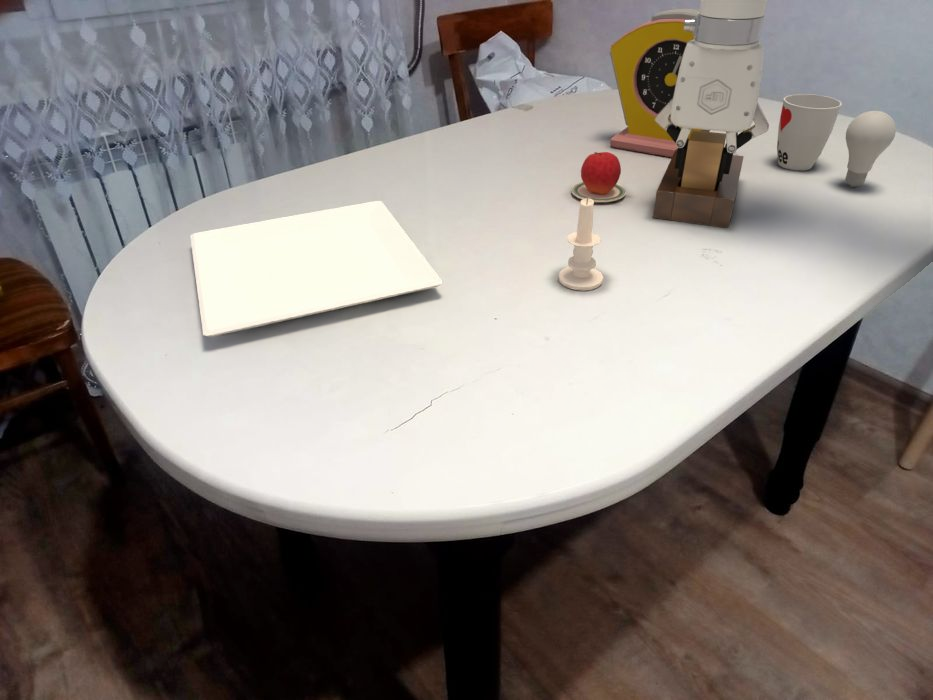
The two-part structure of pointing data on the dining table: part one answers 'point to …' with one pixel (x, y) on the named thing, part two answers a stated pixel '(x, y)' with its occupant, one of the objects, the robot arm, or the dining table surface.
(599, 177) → the apple
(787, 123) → the cup
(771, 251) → the dining table surface
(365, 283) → the plate
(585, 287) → the candle
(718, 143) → the peg
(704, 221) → the holder
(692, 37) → the yellow clock scale
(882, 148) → the lightbulb
